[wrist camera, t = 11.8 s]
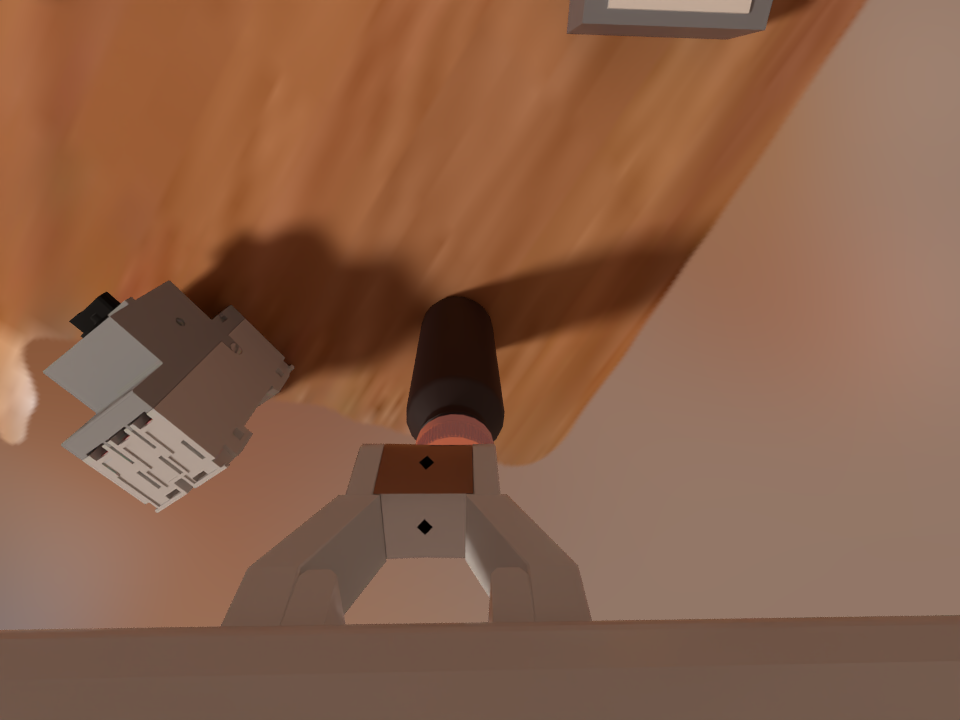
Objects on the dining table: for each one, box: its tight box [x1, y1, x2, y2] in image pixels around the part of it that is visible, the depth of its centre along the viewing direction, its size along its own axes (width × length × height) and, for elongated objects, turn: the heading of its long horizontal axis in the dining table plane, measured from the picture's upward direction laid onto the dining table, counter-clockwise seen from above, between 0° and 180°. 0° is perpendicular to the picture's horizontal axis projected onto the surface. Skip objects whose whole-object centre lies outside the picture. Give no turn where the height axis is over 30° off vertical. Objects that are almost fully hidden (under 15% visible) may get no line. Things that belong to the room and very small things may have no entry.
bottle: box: [407, 297, 504, 445], centre depth 37 cm, size 7×7×20 cm
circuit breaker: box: [43, 281, 295, 513], centre depth 38 cm, size 8×14×15 cm, turn 34°
